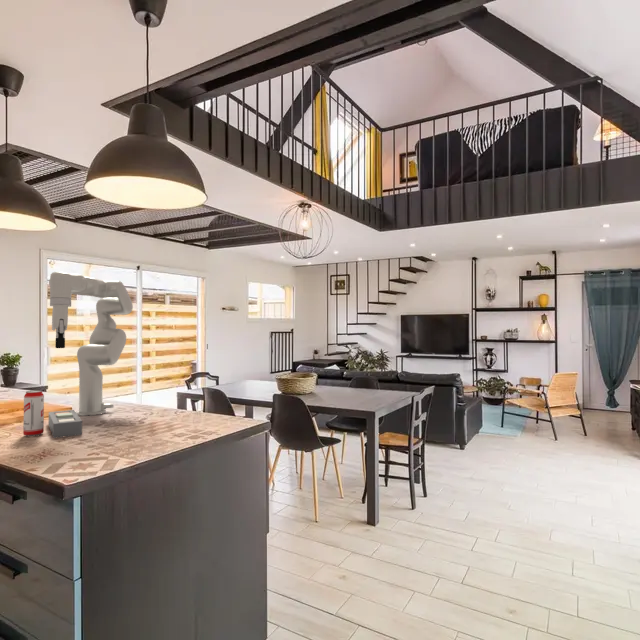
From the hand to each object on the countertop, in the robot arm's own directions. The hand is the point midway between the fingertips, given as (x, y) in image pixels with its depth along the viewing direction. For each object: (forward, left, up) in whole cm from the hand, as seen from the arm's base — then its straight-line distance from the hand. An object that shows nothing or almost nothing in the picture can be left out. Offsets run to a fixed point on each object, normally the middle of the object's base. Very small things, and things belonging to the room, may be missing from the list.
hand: (60, 347), depth 182 cm
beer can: (+9, +14, -31) cm, 36 cm away
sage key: (-1, +10, -28) cm, 30 cm away
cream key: (-1, +18, -29) cm, 34 cm away
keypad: (-1, +10, -31) cm, 33 cm away
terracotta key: (-1, +2, -29) cm, 29 cm away
